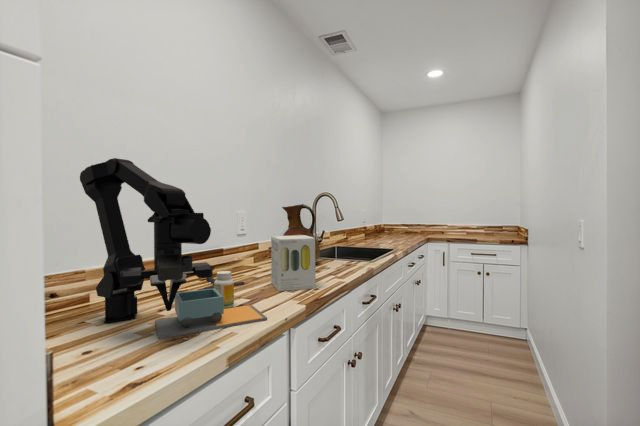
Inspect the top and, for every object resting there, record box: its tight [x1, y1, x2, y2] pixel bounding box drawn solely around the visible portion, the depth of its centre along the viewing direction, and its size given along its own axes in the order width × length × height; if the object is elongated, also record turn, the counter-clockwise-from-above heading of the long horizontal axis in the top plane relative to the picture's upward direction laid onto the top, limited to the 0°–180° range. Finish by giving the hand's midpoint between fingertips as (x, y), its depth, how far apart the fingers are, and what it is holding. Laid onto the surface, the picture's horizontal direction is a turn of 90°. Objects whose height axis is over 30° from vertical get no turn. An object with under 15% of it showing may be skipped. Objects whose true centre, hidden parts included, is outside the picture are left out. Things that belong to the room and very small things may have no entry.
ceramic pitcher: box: [281, 203, 321, 262], centre depth 162 cm, size 20×20×30 cm
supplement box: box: [270, 235, 316, 292], centre depth 116 cm, size 13×13×18 cm
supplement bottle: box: [214, 270, 235, 309], centre depth 92 cm, size 5×5×10 cm
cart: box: [174, 288, 224, 328], centre depth 78 cm, size 10×10×6 cm
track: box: [154, 304, 268, 340], centre depth 80 cm, size 24×12×1 cm, turn 119°
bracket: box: [203, 276, 245, 290], centre depth 119 cm, size 14×15×3 cm
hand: (168, 310), depth 75 cm, fingers closed
